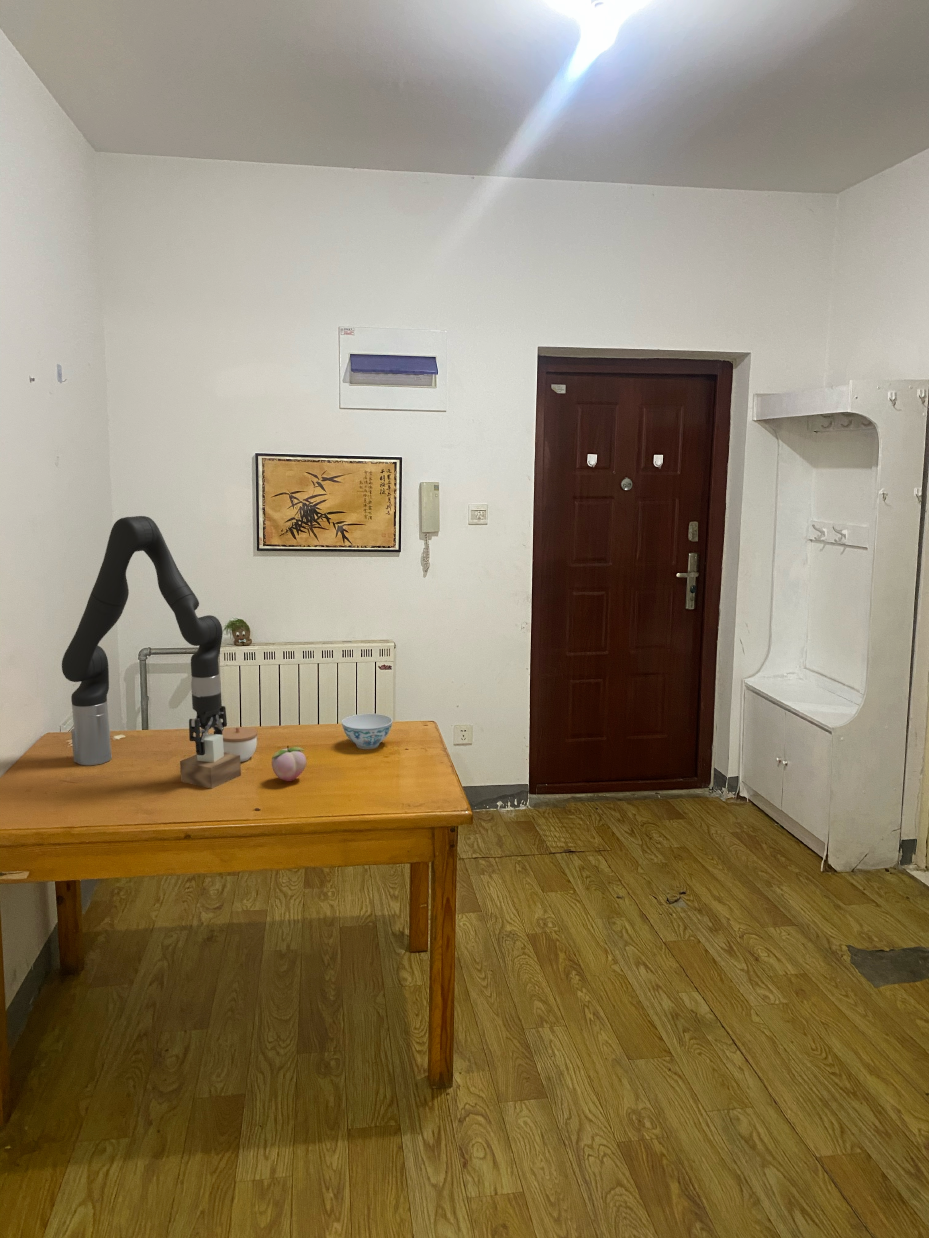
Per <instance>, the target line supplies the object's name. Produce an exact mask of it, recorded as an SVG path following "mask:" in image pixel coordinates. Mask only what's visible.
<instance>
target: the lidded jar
mask: <svg viewBox="0 0 929 1238" xmlns="http://www.w3.org/2000/svg"><path fill="white" fill-rule="evenodd" d="M222 735H223V749H224V752H226V753H231V754H236V755H240V763H242V762H246V761H249V760H250V759H251V757H252V756H253V755H254V753H255V751H256V750H257V744H258V731H257V730H256V729H255V728H253V727H252V728H251V727H247V726H245V727H244V726H243V727H242V726H236V727H230V728H227V729H223V731H222Z"/></svg>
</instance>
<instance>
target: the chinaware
mask: <svg viewBox="0 0 929 1238" xmlns="http://www.w3.org/2000/svg"><path fill="white" fill-rule="evenodd" d="M341 725H342V729H343V732H344V734H345V736H346V737H347V738H348V740H350V742H352V743H354V744H355V745H356V747H357V748H358V749H361V750H362V749H363V750H372V749H376V748H378V747H379V746H380V743H381V742H383V741H384V740H385V739H386V738H387V737H388V735H389V734H390V731H391V729H392V725H393V718H392V717H391V716H388V715H386V714H381V713H359V714H354V715H350V716H347V717H344V718H343V719H342V720H341Z"/></svg>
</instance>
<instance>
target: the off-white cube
mask: <svg viewBox="0 0 929 1238" xmlns="http://www.w3.org/2000/svg"><path fill="white" fill-rule="evenodd" d="M204 743H205V754H204V755H197V754H196V755H197V761H206V762H215V761H217V760H219V759H220V758H222V757H223V756H224V749H223V735H218V734H214V733H208V734H206V735H205V739H204Z"/></svg>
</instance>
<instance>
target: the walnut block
mask: <svg viewBox="0 0 929 1238" xmlns="http://www.w3.org/2000/svg"><path fill="white" fill-rule="evenodd" d="M179 765H180V767H179V768H180V781H181V782H182V783H186V784H191V785H195V786H199V787H203V788H207V789H214V788H217V787H219V786H221V785H223V784H225V783H227V782H230V781H232V780H234V779H236V778H239V777H241V776H242V767H241V765H242V764H241V762H240V755H236V754H231V753H226V752H224V756H223V757H222V758H220V759H219V760H217V761H215V762H206V761H197V754H195V755H192V756H189V757H187V758H184V759H182V760H179Z"/></svg>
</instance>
